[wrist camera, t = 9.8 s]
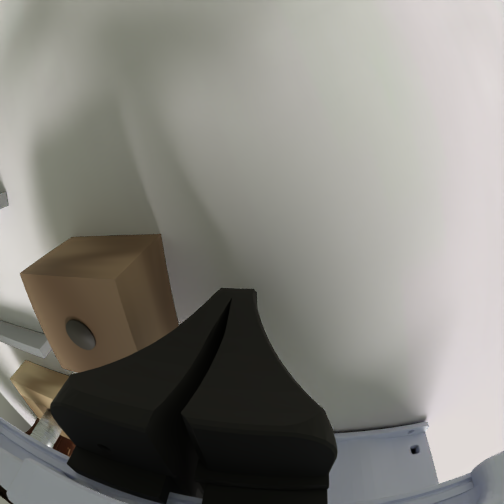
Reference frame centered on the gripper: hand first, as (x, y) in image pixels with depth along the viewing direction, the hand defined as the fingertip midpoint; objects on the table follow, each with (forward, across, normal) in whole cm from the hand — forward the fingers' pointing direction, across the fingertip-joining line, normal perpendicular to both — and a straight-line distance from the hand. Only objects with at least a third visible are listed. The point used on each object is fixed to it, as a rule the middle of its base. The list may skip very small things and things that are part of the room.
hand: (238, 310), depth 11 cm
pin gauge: (+1, +16, +12) cm, 20 cm away
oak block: (+1, +16, +12) cm, 20 cm away
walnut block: (+2, +6, 0) cm, 6 cm away
